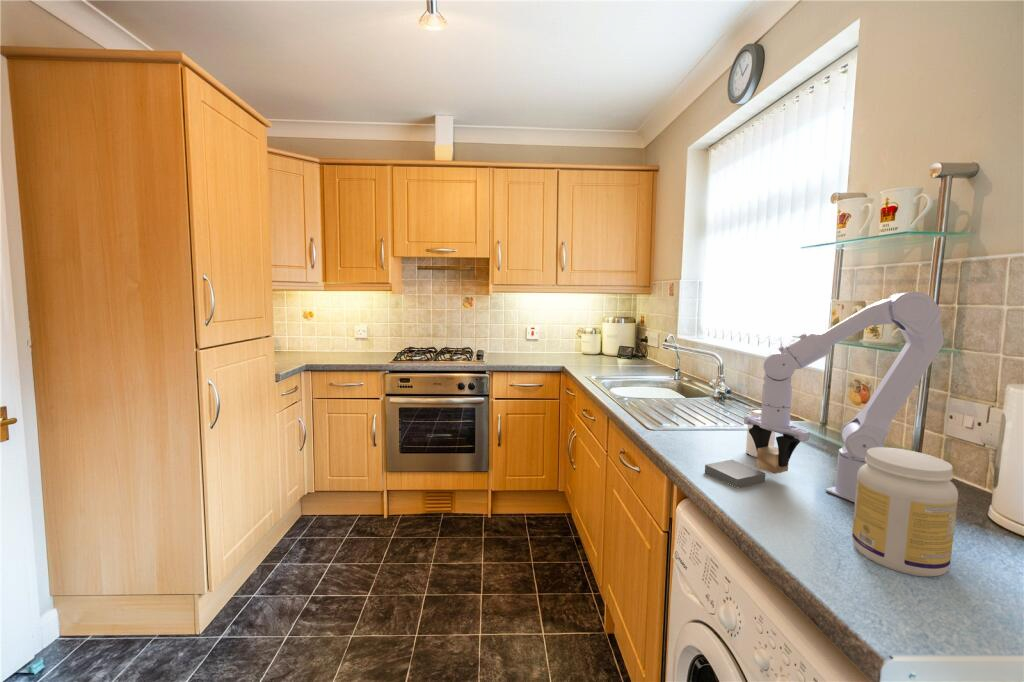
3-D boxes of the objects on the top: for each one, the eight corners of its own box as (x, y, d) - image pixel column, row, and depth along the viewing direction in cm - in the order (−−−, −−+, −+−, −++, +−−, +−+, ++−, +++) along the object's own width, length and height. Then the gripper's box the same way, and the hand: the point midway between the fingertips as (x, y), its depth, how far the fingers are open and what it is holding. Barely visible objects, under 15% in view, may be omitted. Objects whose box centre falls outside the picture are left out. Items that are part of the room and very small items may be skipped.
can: (766, 451, 121) (769, 408, 119) (778, 459, 114) (781, 415, 113) (741, 449, 121) (744, 407, 120) (752, 458, 115) (755, 414, 114)
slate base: (764, 481, 101) (765, 473, 100) (737, 488, 97) (737, 479, 97) (731, 467, 109) (732, 459, 109) (704, 472, 105) (705, 464, 105)
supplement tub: (946, 555, 73) (958, 457, 71) (952, 592, 63) (966, 480, 62) (853, 528, 81) (862, 440, 79) (847, 557, 72) (856, 458, 70)
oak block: (787, 470, 101) (789, 452, 100) (774, 474, 99) (775, 454, 98) (769, 463, 105) (770, 445, 104) (756, 466, 103) (757, 448, 102)
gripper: (736, 399, 105) (733, 454, 107) (795, 414, 92) (791, 476, 93) (756, 397, 108) (753, 450, 109) (817, 411, 95) (812, 471, 96)
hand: (772, 462), depth 102 cm, fingers closed on oak block, 4 cm apart
